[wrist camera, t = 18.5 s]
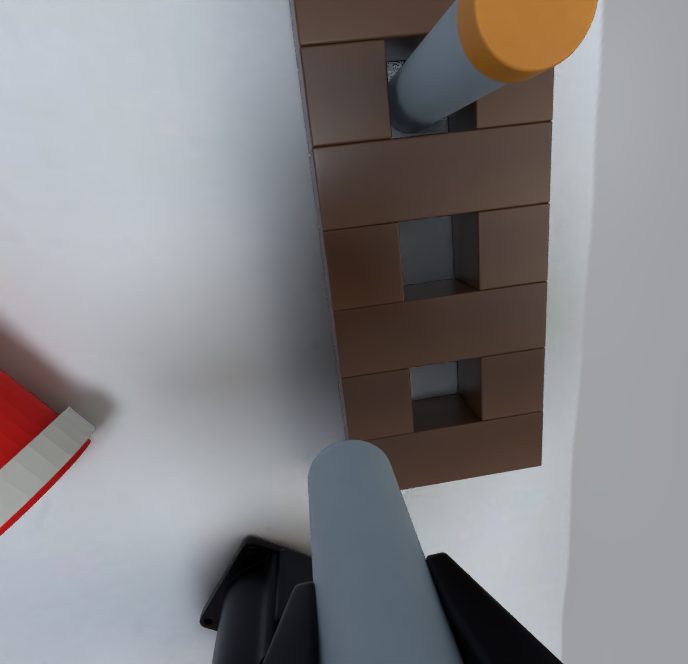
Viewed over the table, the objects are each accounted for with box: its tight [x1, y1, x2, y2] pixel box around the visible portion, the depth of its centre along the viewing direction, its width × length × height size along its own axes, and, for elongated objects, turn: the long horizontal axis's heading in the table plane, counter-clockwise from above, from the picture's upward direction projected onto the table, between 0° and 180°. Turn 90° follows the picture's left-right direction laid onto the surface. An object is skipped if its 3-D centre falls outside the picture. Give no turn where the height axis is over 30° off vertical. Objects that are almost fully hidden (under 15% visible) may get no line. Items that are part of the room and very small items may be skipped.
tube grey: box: [308, 440, 464, 664], centre depth 7 cm, size 3×3×10 cm
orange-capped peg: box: [388, 0, 598, 133], centre depth 13 cm, size 3×3×10 cm
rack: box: [289, 0, 554, 490], centre depth 19 cm, size 22×9×3 cm, turn 7°
